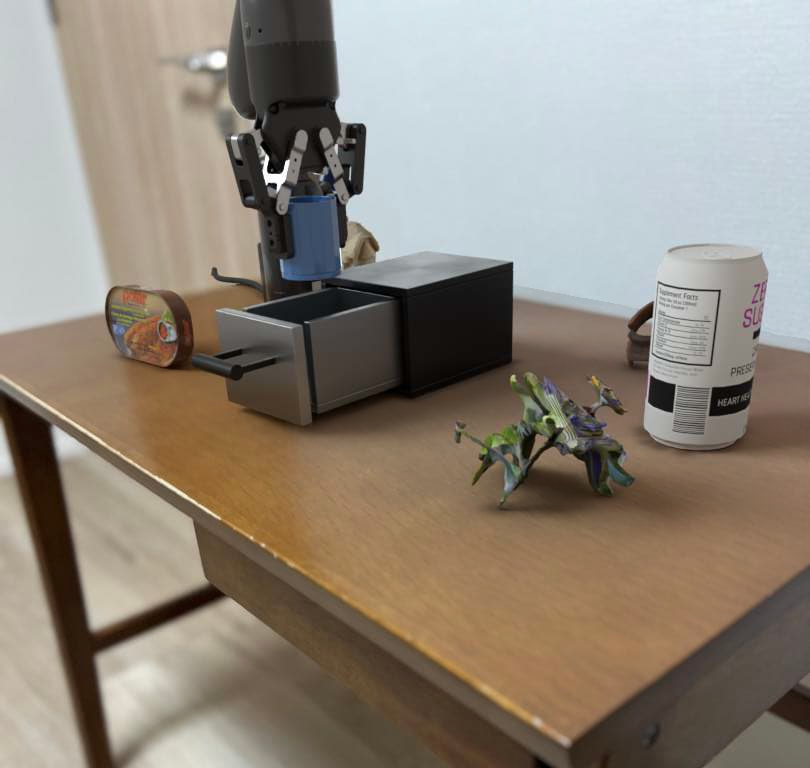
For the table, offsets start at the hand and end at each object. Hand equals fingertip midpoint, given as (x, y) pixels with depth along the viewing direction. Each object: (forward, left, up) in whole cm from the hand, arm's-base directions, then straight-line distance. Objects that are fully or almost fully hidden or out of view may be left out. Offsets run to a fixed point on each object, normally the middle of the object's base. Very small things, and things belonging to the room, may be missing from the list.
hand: (310, 252), depth 79 cm
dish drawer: (0, -2, -13) cm, 14 cm away
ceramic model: (-41, +40, -14) cm, 59 cm away
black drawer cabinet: (0, +14, -14) cm, 20 cm away
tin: (-28, -2, -14) cm, 32 cm away
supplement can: (+32, +14, -14) cm, 38 cm away
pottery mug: (+20, +31, -14) cm, 40 cm away
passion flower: (+30, -4, -14) cm, 33 cm away
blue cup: (0, 0, -2) cm, 2 cm away
